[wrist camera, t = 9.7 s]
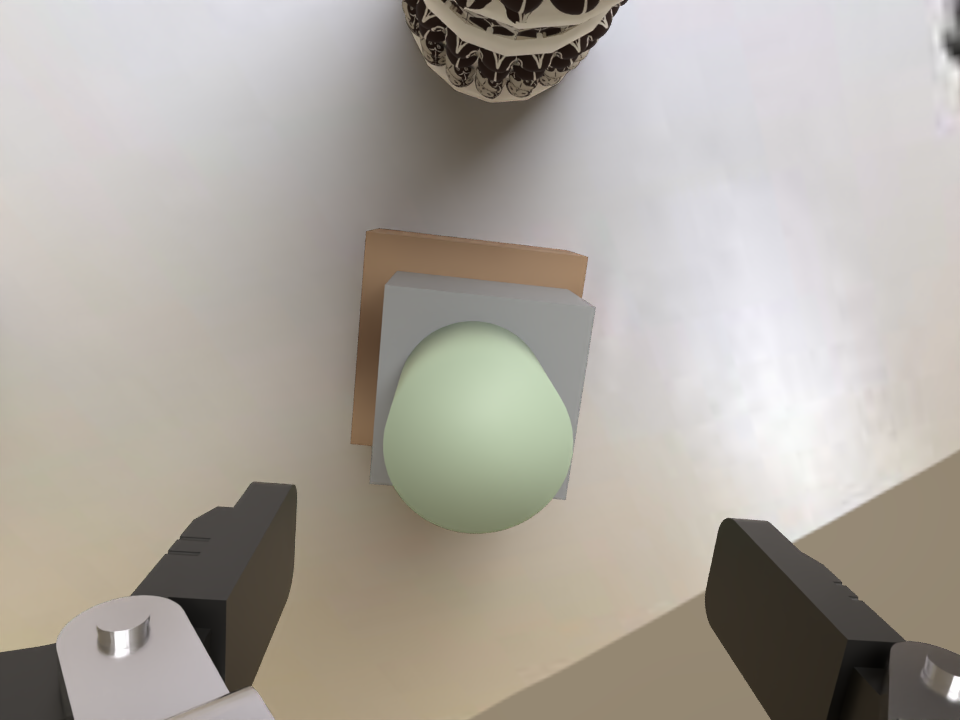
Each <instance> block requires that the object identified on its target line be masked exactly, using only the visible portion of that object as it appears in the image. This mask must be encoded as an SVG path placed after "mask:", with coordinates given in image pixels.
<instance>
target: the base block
mask: <svg viewBox="0 0 960 720" xmlns="http://www.w3.org/2000/svg"><path fill="white" fill-rule="evenodd" d="M587 261H588V257H586V256H583V255H580V254H577V253H574V252H570V251H567V250H560V249H552V248H543V247H534V246H526V245H517V244H509V243H500V242H492V241H483V240H474V239H466V238H457V237H449V236H440V235H432V234H423V233H414V232H406V231H397V230H389V229H380V228H379V229H374V230H370V231H366V240H365V254H364V267H363V281H362V295H361V308H360V322H359V336H358V349H357V363H356V376H355V390H354V404H353V417H352V431H351V444H358V445H369V446H372V445H373V432H374V419H375V406H376V393H377V380H378V367H379V354H380V342H381V329H382V316H383V303H384V290H385V284H386V283H387V282H388V281H389V280H390V278H391V277H392V276H393V275H394V274H395V273H396V272H397V271H404V272H413V273H422V274H431V275H441V276H450V277H459V278H469V279H478V280H487V281H496V282H506V283H515V284H524V285H534V286H543V287H552V288H561V289H568V290H570V291H571V292H573V293H574V294H576V295H577V296H579V297H580V298H582V294H583V287H584V281H585V274H586V268H587Z"/></svg>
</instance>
